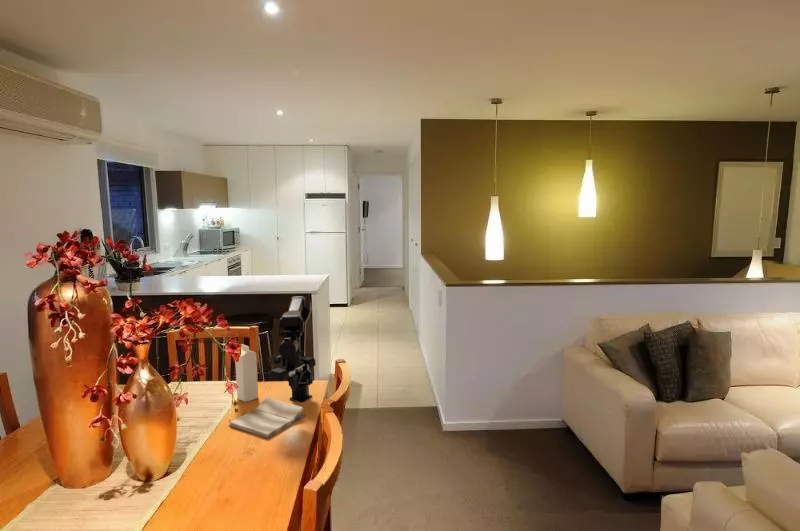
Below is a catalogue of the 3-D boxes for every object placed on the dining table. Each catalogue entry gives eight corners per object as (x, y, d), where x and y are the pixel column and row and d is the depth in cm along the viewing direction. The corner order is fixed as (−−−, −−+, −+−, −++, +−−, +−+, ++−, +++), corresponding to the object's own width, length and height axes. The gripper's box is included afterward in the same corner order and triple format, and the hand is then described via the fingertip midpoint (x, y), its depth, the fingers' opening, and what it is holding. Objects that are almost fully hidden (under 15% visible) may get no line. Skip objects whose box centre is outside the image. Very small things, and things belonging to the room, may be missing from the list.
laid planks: (255, 412, 170) (255, 409, 170) (291, 423, 162) (291, 420, 161) (230, 425, 160) (230, 422, 160) (267, 437, 152) (267, 434, 152)
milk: (244, 402, 180) (241, 348, 177) (237, 398, 184) (233, 345, 181) (258, 397, 184) (255, 344, 181) (250, 393, 188) (248, 341, 185)
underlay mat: (268, 405, 177) (268, 404, 177) (305, 415, 168) (305, 415, 168) (228, 426, 161) (228, 425, 161) (267, 438, 152) (267, 438, 152)
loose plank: (267, 399, 175) (266, 397, 175) (303, 409, 167) (302, 407, 166) (256, 411, 171) (255, 409, 171) (293, 422, 162) (292, 419, 162)
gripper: (293, 339, 176) (294, 378, 178) (256, 353, 160) (258, 395, 162) (315, 343, 171) (317, 383, 173) (280, 358, 154) (281, 402, 156)
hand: (293, 390), depth 166 cm, fingers closed
